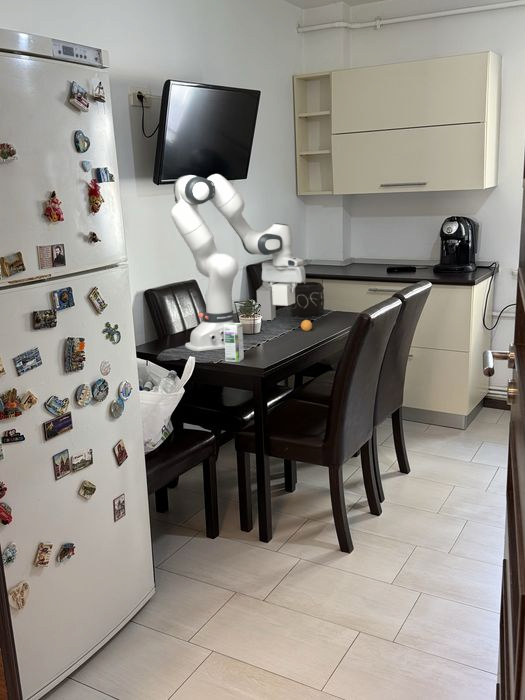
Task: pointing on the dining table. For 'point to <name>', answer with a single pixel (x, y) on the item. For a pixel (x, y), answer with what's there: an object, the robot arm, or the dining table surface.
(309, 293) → the chalk-scribbled black cube
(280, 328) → the dining table surface
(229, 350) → the syrup box
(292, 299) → the white block
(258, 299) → the milk carton
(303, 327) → the ball
